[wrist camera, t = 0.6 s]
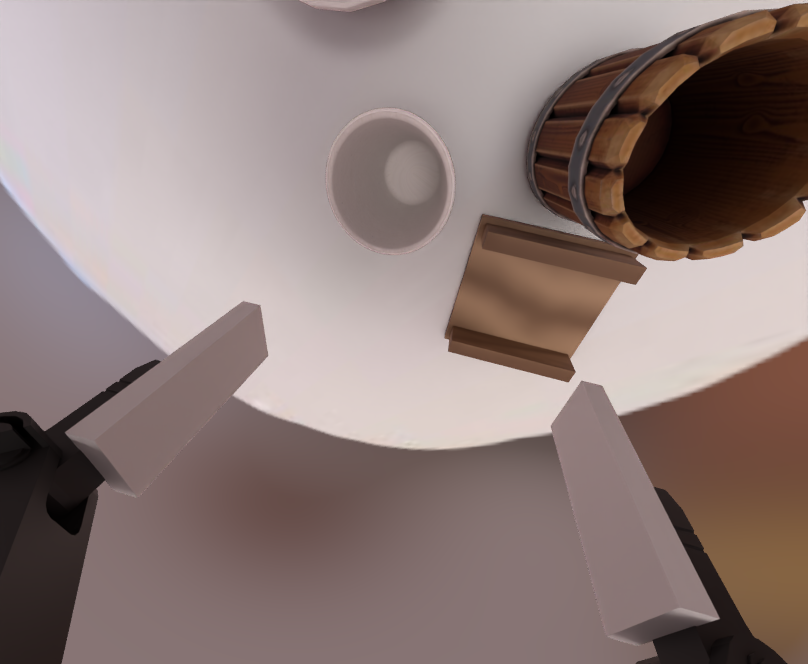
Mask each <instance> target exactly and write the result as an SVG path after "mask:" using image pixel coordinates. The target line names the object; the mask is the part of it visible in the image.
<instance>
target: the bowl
mask: <svg viewBox="0 0 808 664" xmlns="http://www.w3.org/2000/svg"><path fill="white" fill-rule="evenodd" d="M299 1H301V2H303V3H305V4H307V5H309V6H312V7H314V8H316V9H322V10H334V11H345V12H353V11H356V10H359V9H362V8H366V7H369V6H372V5H376V4H379V3H382V2H385V1H386V0H299Z"/></svg>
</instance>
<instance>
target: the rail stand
mask: <svg viewBox="0 0 808 664" xmlns="http://www.w3.org/2000/svg"><path fill="white" fill-rule="evenodd" d="M637 256H638V254H635V253H632V252H629V251H626V250H623V249H620V248H617V247H614V246H612V245H611V244H609V243H607V242H604V241H599V240H595V239H591V238H586V237H582V236H577V235H573V234H569V233H564V232H560V231H555V230H551V229H547V228H542V227H538V226H533V225H529V224H525V223H520V222H516V221H511V220H507V219H503V218H498V217H494V216H489V215H485V214H483V215H482V218H481V221H480V224H479V228H478V231H477V234H476V237H475V240H474V244H473V247H472V250H471V253H470V256H469V260H468V263H467V266H466V269H465V272H464V276H463V279H462V282H461V285H460V288H459V292H458V295H457V298H456V301H455V304H454V308H453V311H452V314H451V317H450V320H449V324H448V327H447V330H446V333H445V339H449V348H448V352H452V353H456V354H460V355H464V356H468V357H472V358H476V359H480V360H483V361H487V362H491V363H495V364H499V365H503V366H507V367H511V368H515V369H518V370H522V371H526V372H530V373H534V374H538V375H542V376H546V377H550V378H553V379H557V380H561V381H565V382H569V381H570V379H571V378H572V376H573V375H574V374H575V370H574V367H573V365H572V363H571V360H570V358H571V357H572V355H573V354H574V352H575V351H576V349H577V348H578V346H579V345H580V343H581V341H582V340H583V338H584V337H585V335H586V334H587V332H588V331H589V329H590V328H591V326H592V325H593V323H594V322H595V320H596V318H597V317H598V315H599V314H600V312H601V311H602V309H603V308H604V306H605V305H606V303H607V302H608V300H609V299H610V297H611V295H612V294H613V292H614V291H615V289H616V288H617V286H618V285H619V283H620V282H626V283H630V284H634V285H636V284H637V282H638V281H639V279H640V278H641V276H642V275H643V273H644V272H645V271H646V269H647V268H646V267H645V266H644V265H642V264H641V263H640V262H638V261H637V260H636V257H637Z"/></svg>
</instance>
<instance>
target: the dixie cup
mask: <svg viewBox="0 0 808 664" xmlns="http://www.w3.org/2000/svg"><path fill="white" fill-rule="evenodd" d="M455 187H456V182H455V172H454V166H453V162H452V159H451V156H450V154H449V151H448V149H447V147H446V145H445V143H444V142H443V140H442V138H441V137H440V136H439V134H438V133H437V132H436V131H435V130H434V128H433V127H432V126H431V125H429V124H428V123H427V122H426V121H425V120H423V119H422V118H420V117H419V116H417V115H415V114H413V113H411V112H408V111H406V110H402V109H398V108H377V109H373V110H370V111H367V112H364V113H362V114H360V115H359V116H357V117H355V118H354V119H353V120H351V121H350V122H349V123H348V124H347V125H346V126H345V127H344V128H343V129H342V130H341V132H340V133H339V134H338V136H337V138H336V139H335V141H334V143H333V145H332V148H331V150H330V153H329V156H328V161H327V166H326V189H327V195H328V199H329V202H330V205H331V208H332V211H333V213H334V215H335V217H336V219H337V220H338V222H339V224H340V225H341V226H342V228H343V229H344V230H345V231H346V233H347V234H348V235H349V236H350V237H351V238H353V239H354V240H355V241H356V242H358V243H359V244H360V245H362V246H364V247H365V248H367V249H370V250H372V251H375V252H378V253H382V254H388V255H399V254H406V253H410V252H413V251H415V250H418V249H420V248H422V247H423V246H425V245H426V244H428V243H429V242H430V241H432V240H433V239H434V238H435V237H436V236H437V235H438V234H439V232H440V231H441V230H442V228H443V227H444V225H445V224H446V222H447V220H448V218H449V215H450V213H451V210H452V207H453V203H454V198H455Z"/></svg>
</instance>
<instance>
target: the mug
mask: <svg viewBox="0 0 808 664" xmlns="http://www.w3.org/2000/svg"><path fill="white" fill-rule="evenodd" d="M527 174H528V179H529V182H530V185H531V188H532V191H533V193H534V194H535V196H536V197H537V198H538V200H539V201H540V203H541V204H542V205H543V206H544V207H546V208H547V209H548V210H550V211H551V212H553V213H554V214H555V215H557V216H559V217H561V218H564V219H567V220H570V221H573V222H576V223H579V224H581V225H583V226H584V227H585V228H586V229H588V230H589V231H590V232H592V233H593V234H594V235H596V236H597V237H599V238H600V239H601V240H603V241H605V242H607V243H609V244H611V245H612V246H614V247H617V248H620V249H623V250H626V251H629V252H632V253H635V254H641V255H643V256H646V257H649V258H652V259H655V260H664V261H676V260H679V259H682V258H684V257H686V258H688V259H691V260H700V259H711V258H716V257H720V256H724V255H728V254H732V253H734V252H736V251H737V250H738V249H740V248H741V247H742V246H743V239H746V240H751V241H757V240H761V239H764V238H768V237H772V236H775V235H776V234H778V233H780V232H782V231H783V230H785V229H787V228H788V227H790V226H791V225H793V224H794V223H796V222H798V221H799V220H800V219H801V217H802V216H803V214H804V213H805V211H806V209H805V207H804V204H803V202H802V201H805V200H808V3H803V4H793V5H789V6H786V7H783V8H780V9H764V10H745V11H741V12H738V13H735V14H732V15H729V16H726V17H723V18H720V19H717V20H714V21H711V22H708V23H705V24H702V25H699V26H696V27H693V28H690V29H687V30H684V31H681V32H678V33H676V34H674V35H673V36H671V37H669V38H668V39H666V40H664V41H663V42H661V43H659V44H655V45H652V46H649V47H646V48H636V49H629V50H626V51H623V52H620V53H617V54H614V55H611V56H608V57H605V58H602V59H599V60H596V61H595V62H593V63H592V64H590V65H588V66H587V67H585V68H584V69H582V70H580V71H579V72H577V73H576V74H574V75H573V76H572V77H571V78H570V79H569V80H568V81H567V82H566V83H565V84H564V85H563V86H562V87H561V88H560V89H558V90H557V91H556V92H555V93H554V95H553V96H552V98H551V99H550V101H549V102H548V104H547V105H546V106H545V108H544V109H543V111H542V112H541V114H540V116H539V118H538V120H537V122H536V124H535V127H534V129H533V132H532V134H531V137H530V142H529V146H528V153H527Z"/></svg>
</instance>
